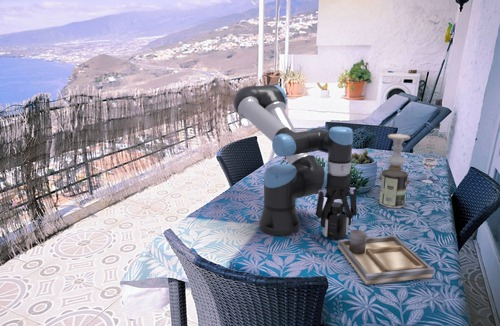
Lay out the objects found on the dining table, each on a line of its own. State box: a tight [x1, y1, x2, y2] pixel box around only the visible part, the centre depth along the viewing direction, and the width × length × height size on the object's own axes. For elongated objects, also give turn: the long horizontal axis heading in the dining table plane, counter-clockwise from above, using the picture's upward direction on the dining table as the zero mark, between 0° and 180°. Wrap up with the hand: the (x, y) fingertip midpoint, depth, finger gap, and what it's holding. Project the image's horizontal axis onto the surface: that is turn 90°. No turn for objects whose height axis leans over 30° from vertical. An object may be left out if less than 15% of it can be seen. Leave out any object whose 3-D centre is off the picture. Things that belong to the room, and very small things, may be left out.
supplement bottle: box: [326, 201, 346, 240], centre depth 118 cm, size 7×7×12 cm
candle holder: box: [379, 133, 411, 185], centre depth 170 cm, size 11×11×24 cm
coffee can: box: [379, 168, 409, 209], centre depth 144 cm, size 10×10×14 cm
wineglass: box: [421, 156, 439, 184], centre depth 170 cm, size 7×7×12 cm
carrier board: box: [337, 229, 435, 285], centre depth 103 cm, size 20×20×7 cm
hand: (334, 233), depth 119 cm, fingers closed on supplement bottle, 7 cm apart
